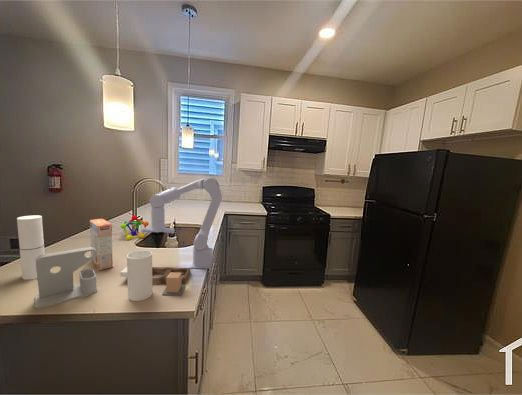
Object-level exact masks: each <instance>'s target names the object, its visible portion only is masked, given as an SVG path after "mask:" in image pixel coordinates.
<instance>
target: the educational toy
mask: <svg viewBox="0 0 522 395" xmlns="http://www.w3.org/2000/svg"><path fill="white" fill-rule="evenodd" d="M132 221H135V222H132ZM149 224H150V223H149V222H148V221H144V220H143V221H142V220H141V219H140V218H138V216H136V215H132V216H131V219H130V220H128V221H124V222H123V223H122V224H120V228H121V229H122V230H123V231H124V233H125V235H126V236H125V239H126V240H127V241H130V240H131V239H134V238H139V239H144V238H146V234H145V232H144V233H137V230H138V229H139V227H140V226H141V225H143V228H147V227H148V226H149ZM130 225H136V227H135V230H133V229H132V228H131V226H130ZM126 228H127V229H129V231H130V232H131V233H130V234H129V233H128V231H127V229H126Z"/></svg>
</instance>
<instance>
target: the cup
mask: <svg viewBox="0 0 522 395" xmlns="http://www.w3.org/2000/svg"><path fill="white" fill-rule="evenodd" d="M126 267H127V277H126V278H127V298H128V300H129V301H132V302H133V301H134V302H139V301H144V300H147V299H149V298H150V297H151V296H152V295H153V284H152V276H153V274H152V267H153V252H152V251H151V250H147V249H145V250H144V249H141V250H136V251H131V252H129V253H127V255H126Z"/></svg>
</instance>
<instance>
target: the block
mask: <svg viewBox="0 0 522 395" xmlns="http://www.w3.org/2000/svg"><path fill="white" fill-rule="evenodd" d="M182 275H183V274H182V273H180V272H170V273H169V275H168V276H167V277H166V284H165V285H166V286H165V289H166V292H174V293H178V292H179V290H180V288H181V285H182V284H181V280H182V277H183V276H182Z"/></svg>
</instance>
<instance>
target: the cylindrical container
mask: <svg viewBox="0 0 522 395" xmlns="http://www.w3.org/2000/svg"><path fill="white" fill-rule="evenodd" d="M16 222H17V224H16V225H17V234H18V245H19V255H20V263H21V264H20V265H21V266H20V268H21V277H22V279H23V280H25V281H26V280H27V281H28V280H36V279H37V270H36V258H37V257H38V256H40V255H42V254H46V253H45V243H44V242H45V240H44V228H43V216H42V215H38V214H37V215H35V214H33V215H23V216H19V217H16Z"/></svg>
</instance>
